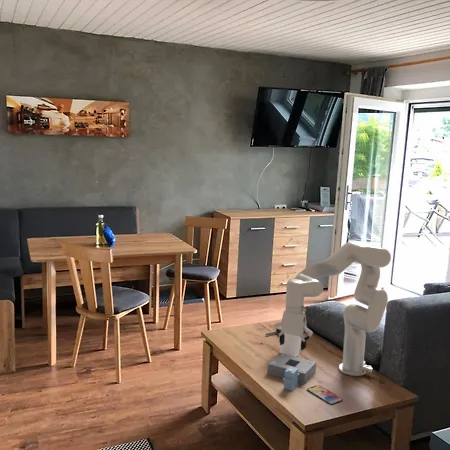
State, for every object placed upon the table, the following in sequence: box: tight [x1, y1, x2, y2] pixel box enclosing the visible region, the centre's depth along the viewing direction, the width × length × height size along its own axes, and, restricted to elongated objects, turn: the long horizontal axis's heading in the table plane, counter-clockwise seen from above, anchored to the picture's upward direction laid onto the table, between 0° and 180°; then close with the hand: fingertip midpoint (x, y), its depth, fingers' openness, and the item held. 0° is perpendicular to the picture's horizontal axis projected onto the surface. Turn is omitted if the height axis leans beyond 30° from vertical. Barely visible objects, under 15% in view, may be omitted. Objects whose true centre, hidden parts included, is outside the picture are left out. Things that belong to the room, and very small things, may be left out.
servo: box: [282, 366, 300, 392], centre depth 224 cm, size 4×9×8 cm, turn 150°
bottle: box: [278, 326, 302, 357], centre depth 256 cm, size 11×11×25 cm
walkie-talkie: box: [265, 330, 279, 336], centre depth 283 cm, size 9×4×20 cm
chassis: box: [267, 353, 317, 385], centre depth 238 cm, size 18×14×5 cm
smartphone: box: [306, 384, 343, 406], centre depth 218 cm, size 7×1×15 cm
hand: (292, 346), depth 222 cm, fingers open, 9 cm apart
